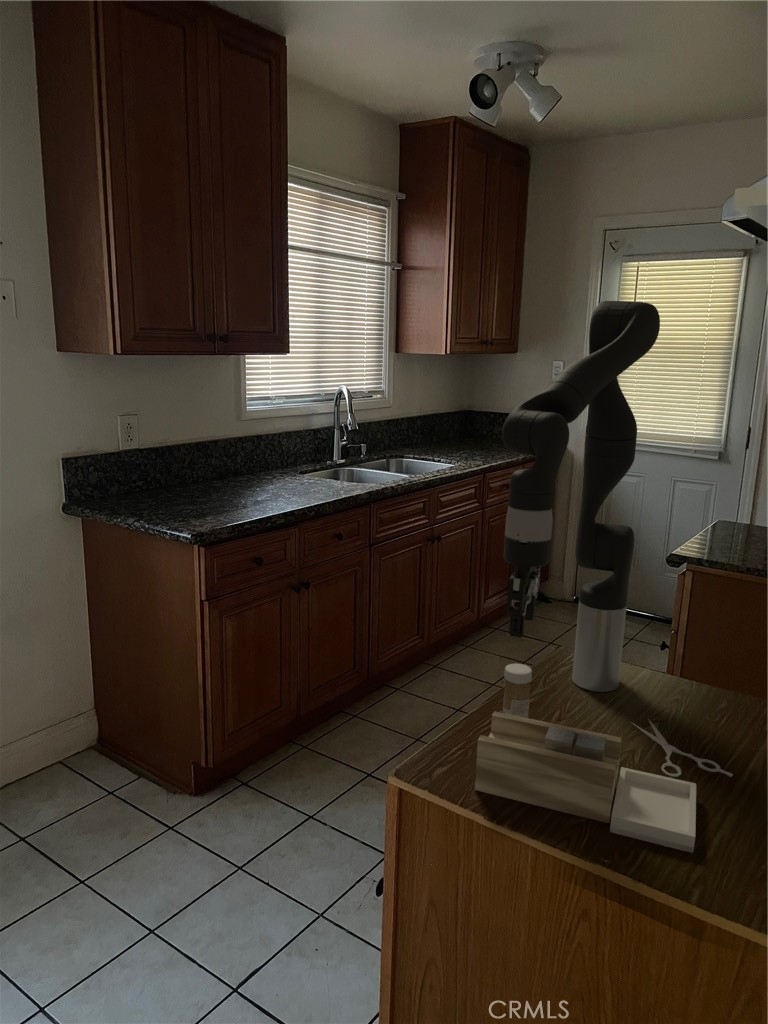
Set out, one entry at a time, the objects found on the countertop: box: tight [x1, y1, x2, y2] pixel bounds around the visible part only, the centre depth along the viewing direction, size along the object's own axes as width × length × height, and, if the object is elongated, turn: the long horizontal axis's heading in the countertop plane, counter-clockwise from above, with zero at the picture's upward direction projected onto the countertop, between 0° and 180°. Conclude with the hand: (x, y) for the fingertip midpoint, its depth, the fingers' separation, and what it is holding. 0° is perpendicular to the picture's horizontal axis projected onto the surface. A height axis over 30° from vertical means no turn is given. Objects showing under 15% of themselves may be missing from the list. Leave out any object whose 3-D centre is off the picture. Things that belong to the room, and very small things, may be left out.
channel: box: [474, 711, 622, 824], centre depth 116 cm, size 10×20×8 cm, turn 68°
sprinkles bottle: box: [502, 663, 533, 718], centre depth 130 cm, size 5×5×14 cm
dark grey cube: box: [574, 732, 606, 762], centre depth 113 cm, size 4×4×4 cm
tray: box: [609, 766, 697, 854], centre depth 111 cm, size 14×11×2 cm
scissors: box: [630, 718, 734, 778], centre depth 131 cm, size 11×1×20 cm
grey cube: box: [544, 726, 576, 756], centre depth 115 cm, size 4×4×4 cm
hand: (521, 627), depth 127 cm, fingers open, 8 cm apart
